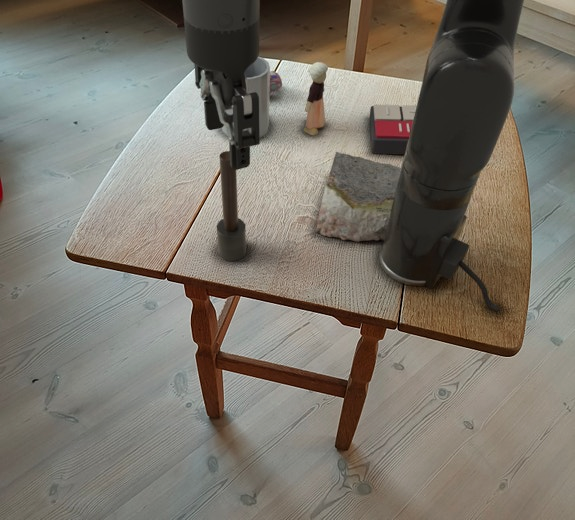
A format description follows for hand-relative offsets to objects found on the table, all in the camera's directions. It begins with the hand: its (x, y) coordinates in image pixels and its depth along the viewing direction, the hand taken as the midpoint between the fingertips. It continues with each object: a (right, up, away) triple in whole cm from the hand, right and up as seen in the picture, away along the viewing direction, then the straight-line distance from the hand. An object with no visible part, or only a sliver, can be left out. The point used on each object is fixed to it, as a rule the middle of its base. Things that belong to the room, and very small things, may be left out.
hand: (227, 146), depth 66 cm
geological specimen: (+18, -6, +21) cm, 28 cm away
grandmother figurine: (+12, +11, +36) cm, 39 cm away
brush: (-1, -12, +13) cm, 18 cm away
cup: (-1, +11, +35) cm, 36 cm away
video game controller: (+1, +19, +43) cm, 47 cm away
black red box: (+30, +8, +35) cm, 47 cm away
